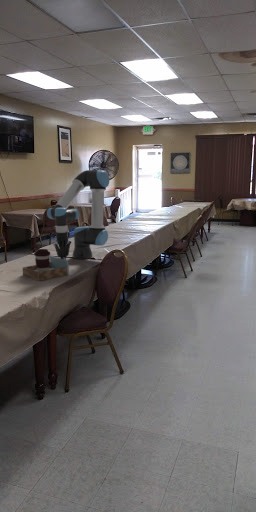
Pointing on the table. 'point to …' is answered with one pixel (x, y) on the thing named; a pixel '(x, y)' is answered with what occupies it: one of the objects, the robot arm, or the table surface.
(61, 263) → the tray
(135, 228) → the table surface
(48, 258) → the coffee cup
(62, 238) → the robot arm
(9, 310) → the table surface
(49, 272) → the brown wooden frame
